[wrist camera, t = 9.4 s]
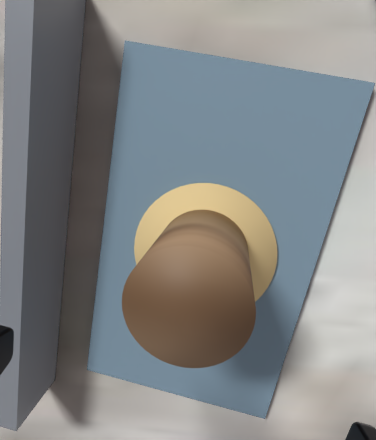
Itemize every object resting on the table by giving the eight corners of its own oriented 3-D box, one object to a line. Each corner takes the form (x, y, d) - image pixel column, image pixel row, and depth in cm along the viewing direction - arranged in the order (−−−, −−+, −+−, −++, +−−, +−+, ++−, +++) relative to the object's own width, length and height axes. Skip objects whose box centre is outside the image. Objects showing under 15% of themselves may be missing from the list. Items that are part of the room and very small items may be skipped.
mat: (264, 413, 20) (265, 421, 19) (89, 365, 21) (85, 371, 20) (371, 84, 14) (377, 82, 14) (127, 43, 15) (123, 39, 15)
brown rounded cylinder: (236, 303, 17) (238, 382, 12) (152, 282, 18) (114, 349, 12) (258, 220, 16) (272, 264, 10) (166, 200, 17) (131, 232, 11)
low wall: (54, 379, 22) (16, 431, 18) (39, 375, 22) (-3, 425, 18) (86, -10, 15) (36, -61, 11) (63, -13, 15) (6, -65, 11)
